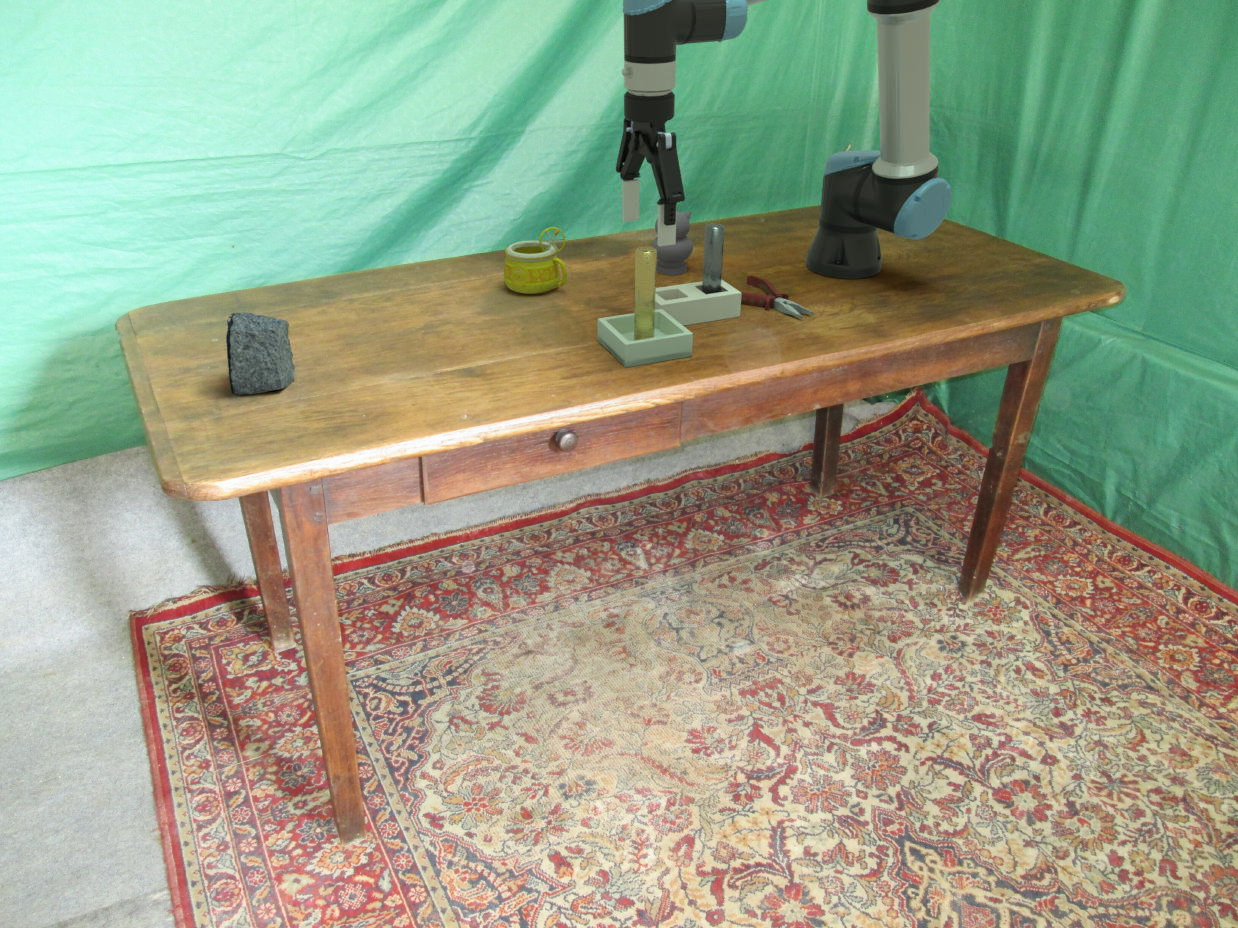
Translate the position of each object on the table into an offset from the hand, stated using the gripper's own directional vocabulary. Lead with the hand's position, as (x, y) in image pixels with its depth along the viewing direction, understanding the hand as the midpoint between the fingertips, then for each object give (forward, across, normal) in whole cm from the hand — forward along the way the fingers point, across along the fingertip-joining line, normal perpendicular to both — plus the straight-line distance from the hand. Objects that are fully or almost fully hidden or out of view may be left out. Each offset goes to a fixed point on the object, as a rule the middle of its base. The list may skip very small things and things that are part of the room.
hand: (648, 232), depth 156 cm
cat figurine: (+20, -34, +21) cm, 45 cm away
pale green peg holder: (+20, -10, +13) cm, 26 cm away
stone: (+19, -9, -61) cm, 64 cm away
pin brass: (+19, 0, -1) cm, 19 cm away
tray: (+20, 0, -1) cm, 20 cm away
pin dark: (+20, -10, +17) cm, 29 cm away
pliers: (+21, -11, +28) cm, 37 cm away
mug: (+20, -34, -8) cm, 40 cm away
